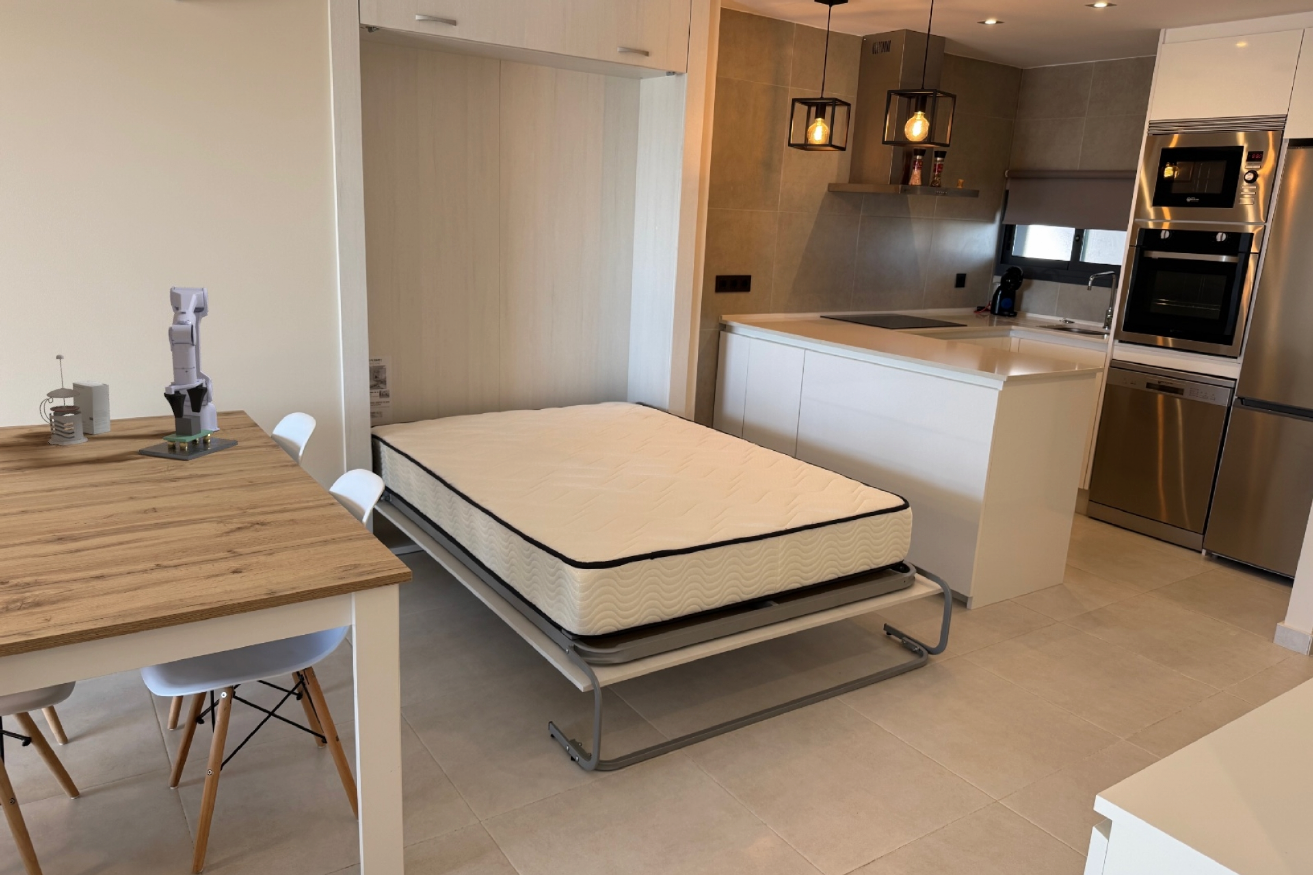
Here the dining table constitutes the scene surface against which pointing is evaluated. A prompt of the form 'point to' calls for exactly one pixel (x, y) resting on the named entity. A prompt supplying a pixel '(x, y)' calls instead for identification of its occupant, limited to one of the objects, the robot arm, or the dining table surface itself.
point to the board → (187, 438)
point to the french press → (64, 417)
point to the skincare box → (93, 406)
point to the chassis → (188, 448)
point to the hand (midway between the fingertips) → (187, 414)
